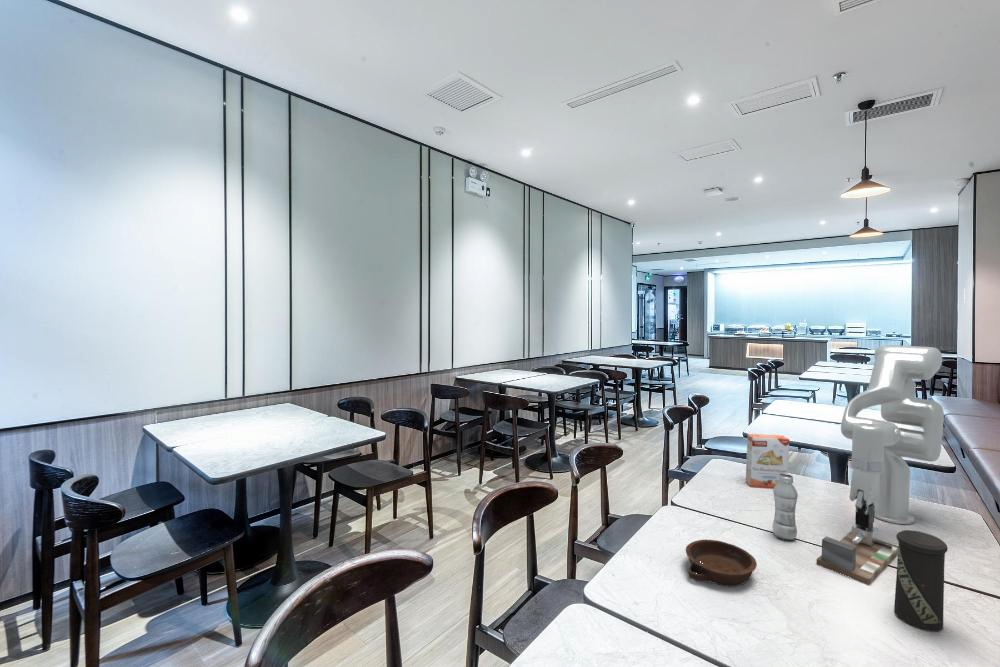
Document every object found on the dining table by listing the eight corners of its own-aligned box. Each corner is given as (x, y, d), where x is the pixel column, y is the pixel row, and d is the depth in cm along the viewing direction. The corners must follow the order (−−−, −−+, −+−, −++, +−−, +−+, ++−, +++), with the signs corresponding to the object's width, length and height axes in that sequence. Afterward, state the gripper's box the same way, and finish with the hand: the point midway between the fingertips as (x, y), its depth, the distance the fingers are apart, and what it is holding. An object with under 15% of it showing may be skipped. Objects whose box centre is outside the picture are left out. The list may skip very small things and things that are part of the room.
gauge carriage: (856, 534, 140) (858, 500, 140) (894, 546, 133) (896, 510, 132) (844, 544, 134) (845, 509, 134) (882, 558, 127) (884, 520, 126)
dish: (774, 577, 121) (775, 559, 121) (723, 603, 111) (724, 583, 110) (716, 547, 137) (716, 531, 136) (666, 567, 126) (666, 550, 126)
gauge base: (851, 535, 144) (852, 512, 143) (900, 551, 134) (901, 527, 133) (816, 564, 127) (817, 538, 127) (869, 585, 118) (870, 557, 117)
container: (882, 608, 109) (886, 527, 108) (916, 606, 109) (920, 526, 108) (919, 633, 100) (923, 546, 99) (955, 631, 101) (960, 544, 100)
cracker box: (750, 487, 182) (752, 437, 181) (745, 482, 188) (746, 433, 187) (788, 489, 180) (790, 438, 179) (781, 484, 186) (783, 434, 185)
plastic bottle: (800, 543, 139) (802, 480, 138) (776, 541, 140) (778, 478, 139) (791, 533, 145) (793, 472, 144) (768, 531, 146) (770, 471, 145)
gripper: (861, 456, 144) (859, 511, 145) (842, 466, 134) (839, 526, 135) (891, 462, 138) (888, 520, 138) (873, 474, 128) (870, 536, 129)
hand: (864, 522), depth 137 cm, fingers closed on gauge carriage, 4 cm apart
